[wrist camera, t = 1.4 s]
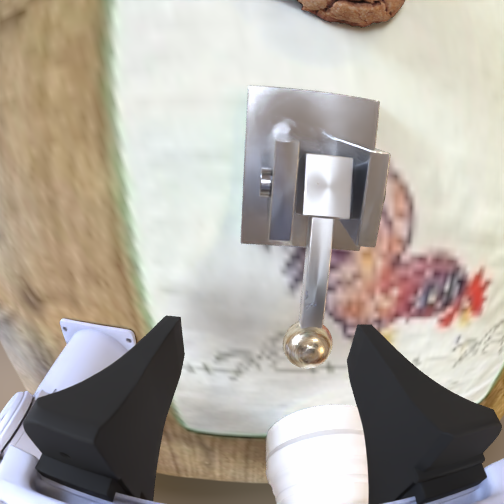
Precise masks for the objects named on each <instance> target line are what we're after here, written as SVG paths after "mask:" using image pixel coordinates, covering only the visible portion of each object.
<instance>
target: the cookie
mask: <svg viewBox="0 0 504 504" xmlns="http://www.w3.org/2000/svg"><path fill="white" fill-rule="evenodd" d="M297 1H298V2H300V3H301V4H303V7H302V9H301V10H306V11H309V12H311V13H313V14H315V15H317V16H318V17H320V18H321V19H323V20H326V21H329V22H339V23H346V24H349V25H351V26H360V27H366V26H369V25H371V24H372V23H379V22H382V21H383V22H385V21H388V20H389V19H390V18H392V17H393V16H395V14H396V13H397V12H398V10H399V9H400V8H401V7H402V5H403V3H404V1H405V0H297Z"/></svg>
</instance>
